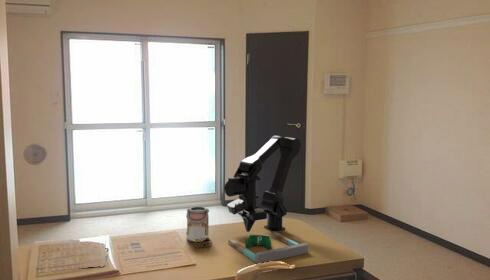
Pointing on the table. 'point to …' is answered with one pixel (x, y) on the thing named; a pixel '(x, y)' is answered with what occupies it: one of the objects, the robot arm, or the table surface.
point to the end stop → (281, 253)
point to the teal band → (252, 255)
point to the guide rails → (240, 248)
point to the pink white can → (197, 223)
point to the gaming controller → (258, 240)
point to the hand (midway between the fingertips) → (248, 231)
